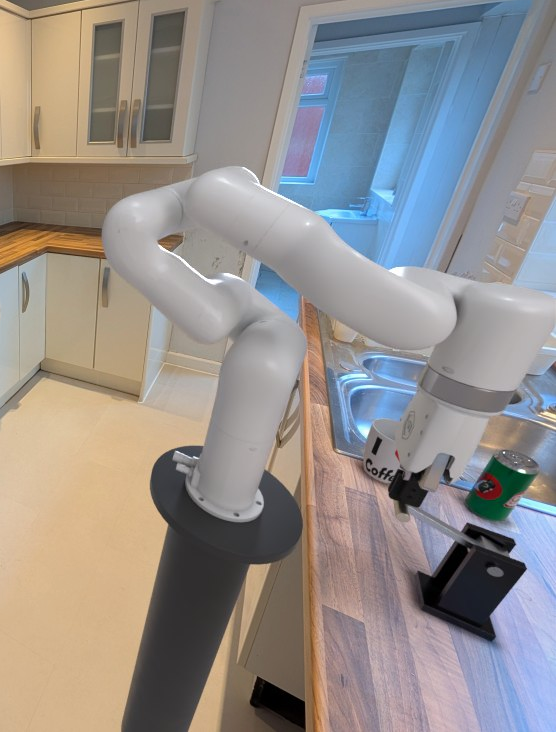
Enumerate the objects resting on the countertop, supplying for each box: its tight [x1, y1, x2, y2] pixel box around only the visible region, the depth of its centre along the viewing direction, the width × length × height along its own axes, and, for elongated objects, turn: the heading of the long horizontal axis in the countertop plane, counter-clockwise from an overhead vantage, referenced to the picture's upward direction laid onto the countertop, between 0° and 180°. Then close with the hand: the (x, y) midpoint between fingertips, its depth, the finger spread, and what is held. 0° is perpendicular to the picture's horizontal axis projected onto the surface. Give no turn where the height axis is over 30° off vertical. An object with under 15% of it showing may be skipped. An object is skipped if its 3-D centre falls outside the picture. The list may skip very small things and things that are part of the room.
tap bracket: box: [414, 522, 528, 643], centre depth 56 cm, size 7×6×13 cm
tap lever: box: [392, 499, 511, 558], centre depth 56 cm, size 12×6×2 cm, turn 55°
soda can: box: [464, 448, 540, 522], centre depth 71 cm, size 5×5×12 cm
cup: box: [362, 417, 403, 484], centre depth 79 cm, size 8×8×10 cm
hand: (402, 498), depth 58 cm, fingers closed
